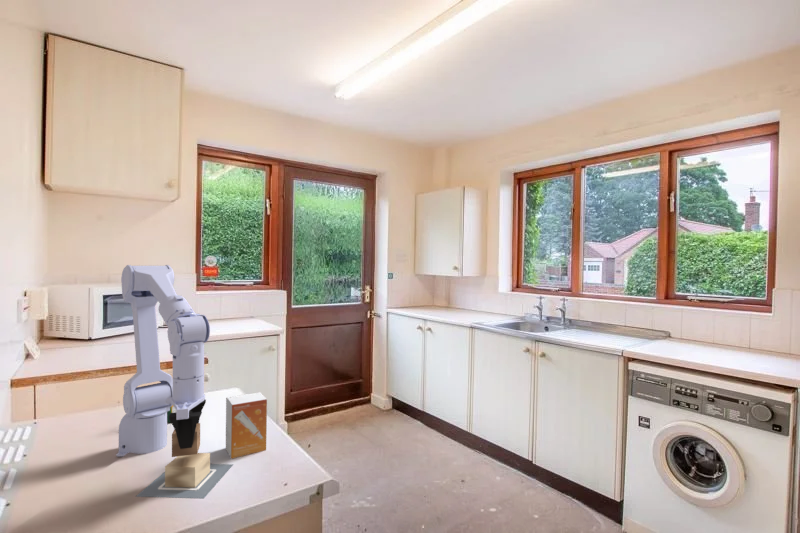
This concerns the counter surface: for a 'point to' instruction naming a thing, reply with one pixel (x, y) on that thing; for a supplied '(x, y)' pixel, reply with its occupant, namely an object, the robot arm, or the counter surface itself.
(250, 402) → the small box
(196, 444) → the walnut block
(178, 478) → the maple block
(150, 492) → the board
